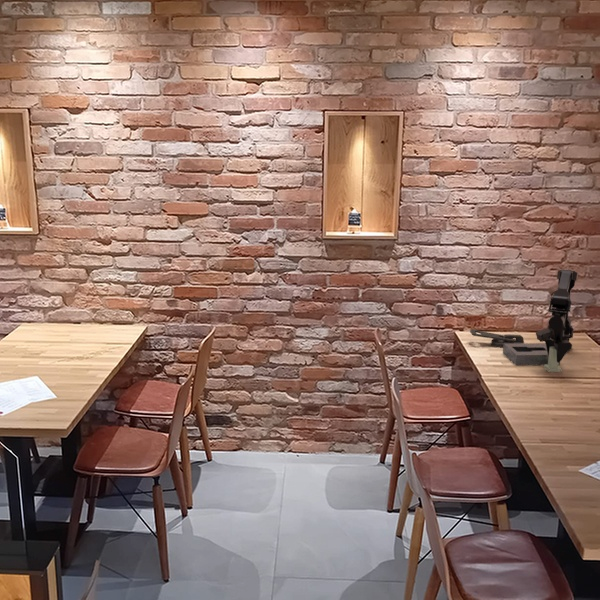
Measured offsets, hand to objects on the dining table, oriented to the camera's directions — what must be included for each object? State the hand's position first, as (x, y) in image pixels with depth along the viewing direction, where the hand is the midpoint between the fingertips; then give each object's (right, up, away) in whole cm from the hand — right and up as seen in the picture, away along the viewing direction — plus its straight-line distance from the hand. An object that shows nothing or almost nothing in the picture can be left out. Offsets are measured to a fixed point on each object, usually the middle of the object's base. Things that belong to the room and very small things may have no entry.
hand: (553, 358), depth 309 cm
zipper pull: (-16, +3, +33) cm, 37 cm away
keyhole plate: (-5, -1, +14) cm, 15 cm away
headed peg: (0, -5, +1) cm, 5 cm away
